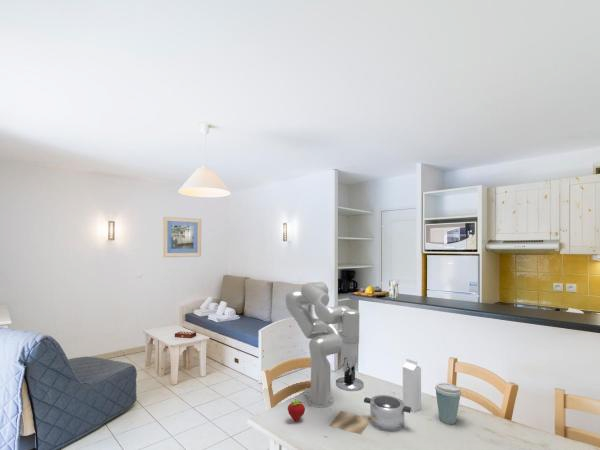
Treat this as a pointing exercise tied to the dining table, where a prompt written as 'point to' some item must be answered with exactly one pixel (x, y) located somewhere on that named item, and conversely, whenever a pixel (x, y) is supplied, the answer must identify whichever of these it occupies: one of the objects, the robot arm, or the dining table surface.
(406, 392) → the milk
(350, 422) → the trivet
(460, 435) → the dining table surface
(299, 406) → the strawberry
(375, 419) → the pot
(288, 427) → the dining table surface
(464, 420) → the dining table surface
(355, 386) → the lid
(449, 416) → the disposable coffee cup
